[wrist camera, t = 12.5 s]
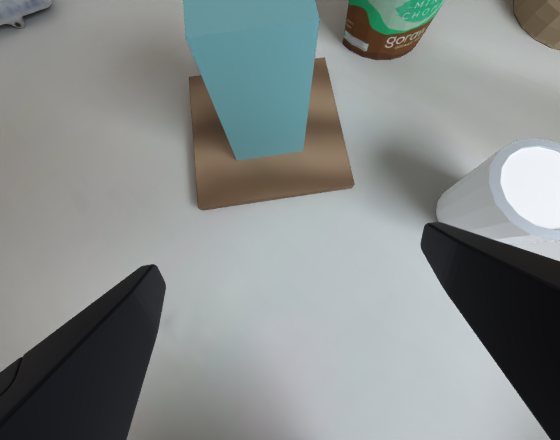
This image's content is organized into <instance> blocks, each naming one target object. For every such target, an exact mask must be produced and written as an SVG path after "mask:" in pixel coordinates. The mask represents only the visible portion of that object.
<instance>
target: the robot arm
mask: <svg viewBox="0 0 560 440" xmlns="http://www.w3.org/2000/svg"><path fill="white" fill-rule="evenodd" d="M421 249H422V251H423V253H424V255H425V257H426V259H427V260H428V262H429V264H430V266H431V267H432V269H433V271H434V273H435V275H436V276H437V278H438V280H439V282H440V283H441V285H442V287H443V288H444V290H445V291H446V293H447V294H448V296H449V297H450V299H451V300H452V301H453V303H454V304H455V306H456V307H457V308H458V310H459V311H460V313H461V314H462V315H463V317H464V318H465V320H466V321H467V322H468V324H469V325H470V327H471V328H472V329H473V331H474V332H475V334H476V335H477V337H478V338H479V339H480V341H481V342H482V344H483V345H484V346H485V348H486V349H487V351H488V352H489V353H490V355H491V356H492V358H493V359H494V360H495V362H496V363H497V365H498V366H499V367H500V369H501V370H502V372H503V373H504V374H505V376H506V377H507V379H508V380H509V382H510V383H511V384H512V386H513V387H514V389H515V390H516V391H517V393H518V394H519V396H520V397H521V398H522V400H523V401H524V403H525V404H526V405H527V407H528V408H529V410H530V411H531V412H532V414H533V415H534V417H535V418H536V419H537V421H538V422H539V424H540V425H541V427H542V428H543V429H544V431H545V432H546V434H547V435H548V436H549V438H550V439H551V440H560V261H557V260H554V259H551V258H548V257H545V256H542V255H539V254H536V253H533V252H530V251H527V250H524V249H521V248H518V247H515V246H511V245H508V244H505V243H502V242H499V241H496V240H493V239H490V238H487V237H484V236H481V235H478V234H475V233H472V232H469V231H466V230H463V229H460V228H457V227H454V226H451V225H448V224H445V223H442V222H433V223H427V224H426V225H425V226H424V230H423V234H422V239H421ZM165 290H166V284H165V281H164V279H163V277H162V275H161V273H160V271H159V269H158V267H157V266H156V265H154V264H151V265H145V266H141V267H140V268H138V269H137V270H136V271H134V272H133V273H132V274H130V275H129V276H128V277H126V278H125V279H124V280H122V281H121V282H120V283H118V284H117V285H116V286H114V287H113V288H112V289H110V290H109V291H108V292H106V293H105V294H104V295H103V296H101V297H100V298H99V299H97V300H96V301H95V302H93V303H92V304H91V305H89V306H88V307H87V308H85V309H84V310H83V311H81V312H80V313H79V314H77V315H76V316H75V317H73V318H72V319H71V320H69V321H68V322H67V323H65V324H64V325H63V326H61V327H60V328H59V329H57V330H56V331H55V332H53V333H52V334H51V335H49V336H48V337H47V338H45V339H44V340H43V341H41V342H40V343H39V344H37V345H36V346H35V347H33V348H32V349H31V350H29V351H28V352H27V353H25V354H24V356H23V357H20V358H19V359H17V360H16V361H15V362H13V363H12V364H11V365H9V366H8V367H7V368H6V369H4V370H3V371H1V372H0V440H126V439H127V435H128V432H129V429H130V425H131V422H132V418H133V415H134V412H135V408H136V405H137V401H138V398H139V395H140V391H141V388H142V384H143V381H144V378H145V374H146V371H147V367H148V364H149V361H150V357H151V354H152V350H153V347H154V344H155V340H156V337H157V333H158V328H159V324H160V318H161V312H162V307H163V301H164V295H165Z"/></svg>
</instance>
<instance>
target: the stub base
mask: <svg viewBox="0 0 560 440" xmlns="http://www.w3.org/2000/svg"><path fill="white" fill-rule="evenodd" d="M189 84H190V98H191V113H192V127H193V141H194V155H195V169H196V183H197V197H198V208H200V209H201V210H208V209H215V208H222V207H229V206H235V205H242V204H249V203H255V202H262V201H269V200H276V199H282V198H289V197H296V196H302V195H309V194H316V193H322V192H329V191H336V190H343V189H349V188H352V187H353V185H354V180H353V176H352V172H351V167H350V163H349V159H348V155H347V150H346V146H345V142H344V138H343V133H342V129H341V125H340V120H339V116H338V112H337V108H336V103H335V99H334V95H333V91H332V86H331V82H330V78H329V74H328V69H327V65H326V61H325V57H324V58H317V59H315V60H314V68H313V76H312V84H311V93H310V101H309V109H308V117H307V125H306V133H305V141H304V149H303V151H301V152H294V153H287V154H280V155H273V156H266V157H259V158H252V159H245V160H238V161H237V160H236V157H235V155H234V153H233V150H232V148H231V145H230V143H229V141H228V138H227V136H226V133H225V131H224V129H223V126H222V124H221V122H220V119H219V117H218V114H217V112H216V110H215V107H214V105H213V102H212V100H211V98H210V95H209V93H208V90H207V88H206V86H205V83H204V81H203V78H202V76H201V75H200V76H193V77H189Z"/></svg>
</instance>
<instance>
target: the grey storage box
mask: <svg viewBox="0 0 560 440" xmlns="http://www.w3.org/2000/svg"><path fill="white" fill-rule="evenodd" d="M51 4H52V0H0V25H2V24H10V25H13V26H14V27H17V28H24V27H25V22H24V20H23V16H25V15H27V14H31V13H34V12H36V11H39V10H43V9H45V8H48V7H49V6H50V5H51Z"/></svg>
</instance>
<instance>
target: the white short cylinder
mask: <svg viewBox="0 0 560 440" xmlns="http://www.w3.org/2000/svg"><path fill="white" fill-rule="evenodd" d="M436 215H437V219H438V222H442V223H445V224H448V225H451V226H454V227H457V228H460V229H463V230H466V231H469V232H472V233H475V234H478V235H481V236H484V237H487V238H490V239H493V240H496V241H499V242H502V243H505V244H516V243H532V242H548V241H560V144H559V143H557V142H553V141H548V140H543V139H539V138H532V139H524V140H516V141H514V142H513V143H511V144H509V145H507V146H506V147H504V148H502V149H500V150H499V151H498V152H496V153H495V154H494V155H492V156H491V157H490V158H488V159H487V160H486V161H484V162H483V163H482V164H481V165H479V166H478V167H477V168H475V169H474V170H473V171H471V172H470V173H469V174H467V175H466V176H465V177H463V178H462V179H461V180H459V181H458V182H457V183H455V184H454V185H453V186H452V187H450V188H449V189H448V190H446V191H445V192H444V193H443V194H442V196H441V197H440V199H439V200H438V201H437V208H436Z"/></svg>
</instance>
